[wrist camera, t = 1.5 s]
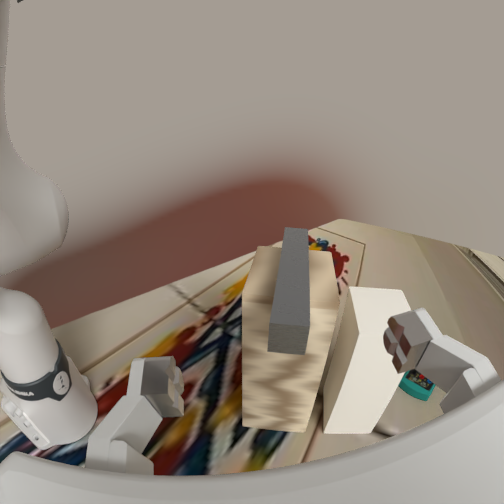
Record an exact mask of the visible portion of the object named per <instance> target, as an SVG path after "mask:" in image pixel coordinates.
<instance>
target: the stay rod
mask: <svg viewBox="0 0 504 504" xmlns="http://www.w3.org/2000/svg"><path fill="white" fill-rule="evenodd" d="M309 330H310V278H309V247H308V229H299V228H287V227H286V228H285V232H284V238H283V244H282V251H281V257H280V263H279V269H278V275H277V281H276V287H275V293H274V299H273V305H272V310H271V316H270V322H269V335H268V348H267V352H275V353H285V354H296V355H305V352H306V347H307V341H308V336H309Z"/></svg>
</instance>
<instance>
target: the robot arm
mask: <svg viewBox="0 0 504 504" xmlns="http://www.w3.org/2000/svg"><path fill="white" fill-rule="evenodd" d="M21 1H23V0H17V2H18V3H19V2H21ZM9 6H10V0H0V276H3V275H5V274H8V273H10V272H13V271H15V270H18V269H20V268H23V267H26V266H28V265H30V264H33V263H35V262H37V261H38V260H40V259H42V258H43V257H45V256H47V255H48V254H50V253H51V252H53V251H54V250H56V249H58V248H59V247H60V246H61V245H62V243H63V241H64V239H65V236H66V233H67V229H68V222H69V214H68V207H67V203H66V200H65V197H64V195H63V193H62V191H61V190H60V188H59V187H58V186H57V184H56V183H55V182H54V181H52V180H51V179H50V178H48V177H47V176H44V175H42V174H40V173H38V172H36V171H34V170H33V169H32V168H31V167H29V166H28V165H27V164H26V163H25V162H24V161H23V160H22V159H21V157H20V156H19V155H18V154H17V152H16V150H15V149H14V147H13V144H12V142H11V140H10V137H9V133H8V129H7V124H6V115H5V100H4V83H5V67H1V66H4V65H6V55H7V42H8V26H9V8H10V7H9ZM387 324H388V326H389V327H388V328H387V329H386V330H385V331H384V335H383V343H384V346H385V349H386V351H387V353H389V354H390V355H392V356H393V358H392V363H393V365H394V367H395V369H396V371H397V373H398V374H400V373H403V372H406V371H409V370H412V369H415V368H416V370H417V371H418V372H420V373H421V374H422V375H423V376H425V377H426V378H427V379H429V380H430V381H431V382H433V383H434V384H435V385H437V386H438V387H439V388H441V389H442V390H443V391H445V392H446V393H447V394H446V395H445V396H444V398H443V399H442V400H441V402H440V406H441V408H442V410H443V413H444V414H443V415H441V416H439V417H437V418H435V419H433V420H431V421H429V422H426V423H424V424H422V425H420V426H417V427H415V428H413V429H410V430H408V431H406V432H403V433H401V434H398V435H396V436H393V437H390V438H388V439H385V440H382V441H379V442H376V443H374V444H371V445H368V446H365V447H362V448H358V449H355V450H352V451H348V452H345V453H341V454H338V455H334V456H330V457H327V458H323V459H318V460H314V461H310V462H305V463H300V464H295V465H290V466H285V467H279V468H273V469H266V470H259V471H252V472H243V473H233V474H220V475H201V476H159V475H154V472H153V462H152V461H151V460H149V459H148V458H146V457H145V456H143V455H142V452H143V450H144V449H145V447H146V445H147V444H148V442H149V440H150V439H151V437H152V436H153V434H154V432H155V431H156V429H157V427H158V426H159V424H160V422H161V421H162V419H163V417H179V416H184V401H183V399H182V397H181V396H180V395H181V394H182V393H183V391H184V382H183V376H182V373H181V370H180V368H178V367H176V361H175V359H174V357H173V356H168V357H151V358H134V359H133V361H132V363H131V369H130V375H129V382H128V389H127V396H123V397H122V398H121V399H120V400H119V401H118V403H117V404H116V405H115V406H114V407H113V409H112V410H111V411H110V412H109V413H108V415H107V416H106V417H105V418H104V419H103V421H102V422H101V423H100V424H99V425H98V427H97V428H96V429H95V430H94V432H93V433H92V434H91V435H90V436H89V441H88V448H87V455H86V464H85V468H83V467H78V466H73V465H68V464H63V463H59V462H54V461H50V460H46V459H42V458H39V457H35V456H32V455H28V454H25V453H22V452H13V453H11V454H10V455H9V456H8V457H7V458H5V459H4V460H3V461H2V462H1V464H0V504H504V379H503V380H502V381H501V379H500V377H499V376H498V374H497V372H496V371H495V369H494V367H493V366H492V364H491V362H490V361H489V359H488V358H487V357H485V356H483V355H482V354H480V353H478V352H476V351H474V350H473V349H471V348H469V347H467V346H465V345H463V344H462V343H460V342H458V341H456V340H454V339H453V338H451V337H449V336H447V335H444V336H443V335H442V333H441V332H440V330H439V329H438V327H437V326H436V324H435V323H434V321H433V320H432V318H431V317H430V316H429V314H428V313H427V311H426V310H425V309H424V308H418V309H415V310H412V311H408V312H404V313H401V314H398V315H394V316H391V317H390V318H389V319H388V322H387ZM0 369H1V374H2V378H1V381H0V391H1V392H2V394H3V395H4V396H3V398H2V402H1V407H2V409H3V410H4V412H5V413H6V414H7V415H8V416H9V418H10V419H11V420H12V421H13V422H14V423H15V424H16V426H17V427H18V428H19V429H20V430H21V431H22V432H23V433H24V434H25V435H26V436H27V437H28V438H29V439H30V440H31V442H32V443H33V444H34V445H35V446H36V447H37V448H39V449H40V450H45V449H48V448H50V447H52V446H54V445H61V444H69V443H72V442H75V441H77V440H79V439H81V438H82V437H84V436H85V435H86V434H87V433H88V432H89V431H90V430H91V428H92V427H93V425H94V423H95V421H96V418H97V412H98V409H97V402H96V400H95V398H94V396H93V394H92V393H91V391H90V382H89V380H88V378H87V377H86V376H85V375H81V374H80V372H79V371H78V369H77V368H76V366H75V364H74V363H73V361H72V360H71V358H70V357H69V356H66V354H65V352H64V350H63V348H62V347H61V345H60V344H59V342H58V341H57V340H56V339H55V338H54V336H53V333H52V331H51V329H50V326H49V324H48V322H47V319H46V317H45V314H44V312H43V309H42V307H41V306H40V304H39V303H38V302H37V301H36V300H35V299H34V298H33V297H30V296H29V295H28V294H26V293H24V292H21V291H16V290H8V289H4V288H2V287H0ZM37 439H38V440H37Z"/></svg>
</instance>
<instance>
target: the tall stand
mask: <svg viewBox="0 0 504 504" xmlns="http://www.w3.org/2000/svg"><path fill="white" fill-rule="evenodd" d="M281 251H282V248H278V247H266V246H258V248H257V251H256V254H255V257H254V260H253V263H252V266H251V269H250V272H249V275H248V278H247V280H246V283H245V286H244V289H243V292H242V426H245V427H253V428H261V429H269V430H279V431H291V432H305V431H306V428H307V424H308V421H309V418H310V415H311V412H312V409H313V405H314V402H315V399H316V395H317V392H318V388H319V385H320V381H321V378H322V374H323V370H324V367H325V363H326V359H327V355H328V351H329V347H330V343H331V339H332V335H333V331H334V327H335V322H336V318H337V313H338V309H339V304H340V300H339V294H338V288H337V282H336V276H335V271H334V265H333V260H332V255H331V252H325V251H313V250H309V278H310V330H309V336H308V341H307V347H306V352H305V355H296V354H285V353H275V352H267V348H268V335H269V322H270V316H271V310H272V305H273V299H274V293H275V287H276V281H277V275H278V269H279V263H280V257H281Z"/></svg>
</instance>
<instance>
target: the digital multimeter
mask: <svg viewBox="0 0 504 504" xmlns="http://www.w3.org/2000/svg"><path fill="white" fill-rule="evenodd" d="M398 386H399V387H400V388H401V389H402V390H404V391H405V392H406V393H408V394H409V395H411V396H413V397H415V398H418V399H420V400H423V401H427V399H428V398H429V396H430V395H431V393H432V391H433V389H434V387H435V384H434V383H433V382H431V381H430V380H429V379H427V378H426V377H425V376H423V375H422V374H421V373H420V372H418V371H417V370H416V368H415V369H412V370H409V371H406V372H405V373H404V375H403V377H402V379H401V381H400V383H399V385H398ZM430 388H431V389H430Z"/></svg>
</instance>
